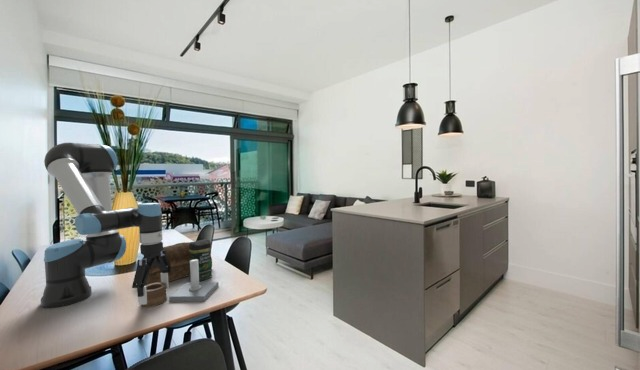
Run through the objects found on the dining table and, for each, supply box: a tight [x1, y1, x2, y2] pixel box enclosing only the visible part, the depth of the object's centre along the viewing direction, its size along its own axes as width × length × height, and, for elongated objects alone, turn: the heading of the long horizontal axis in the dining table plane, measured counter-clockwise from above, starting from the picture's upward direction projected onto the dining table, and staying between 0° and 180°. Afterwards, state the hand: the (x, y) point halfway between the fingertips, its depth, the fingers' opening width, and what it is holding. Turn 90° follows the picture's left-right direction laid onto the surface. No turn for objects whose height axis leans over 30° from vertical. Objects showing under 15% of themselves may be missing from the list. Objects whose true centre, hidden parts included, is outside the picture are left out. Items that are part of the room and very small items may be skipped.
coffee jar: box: [189, 238, 213, 282], centre depth 128 cm, size 10×8×19 cm
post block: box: [168, 259, 219, 303], centre depth 112 cm, size 14×14×14 cm
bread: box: [141, 241, 213, 285], centre depth 134 cm, size 15×32×16 cm, turn 141°
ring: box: [140, 282, 168, 308], centre depth 105 cm, size 8×8×6 cm
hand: (154, 295), depth 105 cm, fingers open, 13 cm apart
